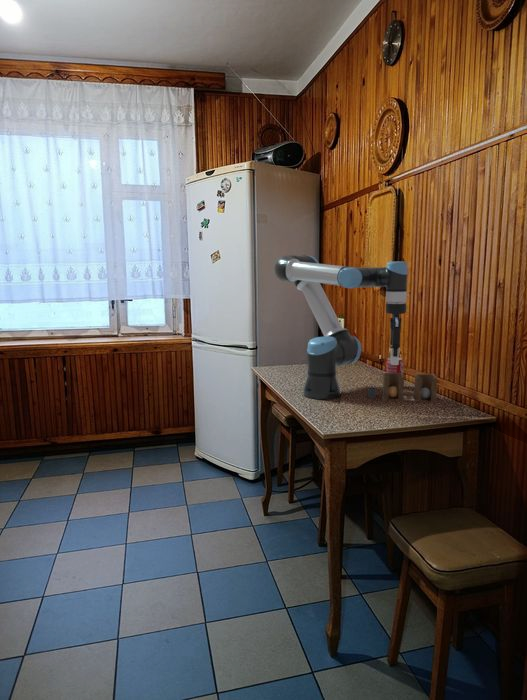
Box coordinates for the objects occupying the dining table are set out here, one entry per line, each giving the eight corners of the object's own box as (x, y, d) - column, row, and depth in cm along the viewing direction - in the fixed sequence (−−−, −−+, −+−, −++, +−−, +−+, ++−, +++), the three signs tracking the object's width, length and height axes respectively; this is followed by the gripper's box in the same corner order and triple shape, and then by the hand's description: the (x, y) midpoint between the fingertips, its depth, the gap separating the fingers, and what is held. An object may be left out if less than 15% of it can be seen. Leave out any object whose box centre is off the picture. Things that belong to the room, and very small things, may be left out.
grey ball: (419, 400, 179) (420, 388, 178) (418, 397, 183) (418, 386, 182) (431, 400, 178) (432, 389, 177) (429, 397, 182) (430, 386, 182)
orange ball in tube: (387, 398, 181) (387, 387, 180) (386, 395, 185) (386, 385, 185) (399, 399, 180) (399, 388, 180) (398, 396, 185) (398, 385, 184)
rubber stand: (367, 400, 183) (368, 389, 183) (367, 398, 186) (367, 387, 186) (375, 400, 183) (376, 389, 182) (375, 398, 186) (375, 387, 185)
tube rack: (382, 402, 180) (383, 376, 179) (381, 397, 187) (382, 372, 186) (437, 404, 177) (438, 378, 175) (434, 399, 184) (435, 374, 182)
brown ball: (388, 356, 178) (389, 345, 178) (388, 354, 183) (388, 343, 182) (400, 357, 178) (401, 345, 177) (399, 355, 182) (400, 343, 181)
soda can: (403, 390, 198) (404, 360, 196) (385, 389, 199) (386, 359, 197) (401, 386, 205) (402, 357, 203) (384, 385, 206) (385, 356, 204)
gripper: (408, 304, 168) (406, 368, 171) (404, 301, 185) (402, 359, 188) (387, 304, 169) (385, 367, 173) (384, 301, 186) (383, 359, 190)
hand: (394, 363), depth 181 cm, fingers closed on brown ball, 4 cm apart
